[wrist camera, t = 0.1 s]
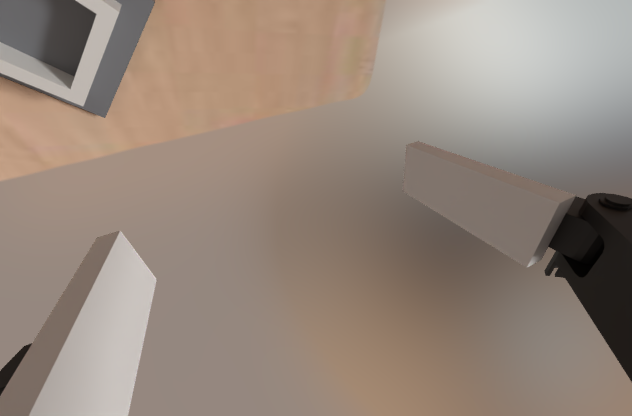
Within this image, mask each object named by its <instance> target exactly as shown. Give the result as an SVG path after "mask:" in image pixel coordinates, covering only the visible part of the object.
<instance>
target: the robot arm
mask: <svg viewBox="0 0 632 416" xmlns="http://www.w3.org/2000/svg"><path fill="white" fill-rule="evenodd" d="M403 192H405V193H407V194H408V195H410V196H411V197H413V198H415V199H416V200H418V201H419V202H421V203H423V204H424V205H426V206H428V207H429V208H431V209H432V210H434V211H436V212H437V213H439V214H441V215H442V216H444V217H445V218H447V219H449V220H450V221H452V222H454V223H455V224H457V225H459V226H460V227H462V228H463V229H465V230H466V231H468V232H470V233H471V234H473V235H475V236H476V237H478V238H479V239H481V240H483V241H484V242H486V243H488V244H489V245H491V246H493V247H494V248H496V249H497V250H499V251H501V252H502V253H504V254H505V255H507V256H509V257H510V258H512V259H514V260H515V261H517V262H519V263H520V264H522V265H523V266H525V267H529V266H531V265H533V264H534V263H536V262H538V261H540V260H541V259H542V258H543V256H544V253H545V252H546V250H547V248H548V247H550V248H552V249H554V250H556V252H555V254H554V255H553V257H552V259H551V261H550V262H549V264H548V266H547V268H546V269H545V274H546V276H550V274H551V273H552V271H553V269H554V268H558V270H557V271H556V273H555V277H563V278H566V280H567V281H568V283H569V285H570V286H571V287H572V289H573V291H574V292H575V294H576V295H577V297H578V299H579V300H580V302H581V303H582V305H583V306H584V308H585V310H586V311H587V313H588V314H589V316H590V317H591V319H592V320H593V322H594V324H595V325H596V327H597V328H598V330H599V331H600V333H601V334H602V336H603V338H604V339H605V341H606V342H607V344H608V345H609V347H610V349H611V350H612V352H613V353H614V355H615V356H616V358H617V360H618V361H619V363H620V364H621V366H622V367H623V369H624V370H625V372H626V374H627V375H628V377H629V378H630V380H631V381H632V199H631V198H628V197H624V196H620V195H615V194H606V193H596V194H591V195H588V196H587V198H586V199H582V198H579V197H576V195H574V194H571V193H567V192H565V191H562V190H559V189H556V188H553V187H550V186H547V185H544V184H542V183H539V182H536V181H533V180H530V179H527V178H524V177H521V176H518V175H515V174H512V173H509V172H506V171H504V170H501V169H498V168H495V167H492V166H489V165H486V164H483V163H480V162H477V161H474V160H471V159H469V158H465V157H462V156H460V155H457V154H454V153H451V152H448V151H445V150H442V149H439V148H436V147H433V146H430V145H427V144H425V143H422V142H419V141H418V142H414V143H411V144H408V145H406V155H405V168H404V181H403ZM156 280H157V279H156V278H155V277H154V275H153V274H152V272H151V271H150V270H149V268H148V267H147V266H146V265H145V263H144V262H143V260H142V259H141V258H140V256H139V255H138V254H137V252H136V251H135V250H134V248H133V247H132V246H131V244H130V243H129V242H128V240H127V239H126V237H125V236H124V235H123V233H122V232H121V231H118V232H114V233H111V234H108V235H104V236H101V237H98V238H96V240H95V242H94V244H93V245H92V247H91V248H90V250H89V252H88V253H87V255H86V256H85V258H84V260H83V261H82V263H81V265H80V267H79V268H78V270H77V271H76V273H75V274H74V276H73V278H72V279H71V281H70V283H69V284H68V286H67V288H66V289H65V291H64V292H63V294H62V296H61V297H60V299H59V301H58V302H57V304H56V306H55V307H54V309H53V310H52V312H51V314H50V315H49V317H48V319H47V320H46V322H45V324H44V325H43V327H42V329H41V330H40V332H39V333H38V335H37V337H36V338H35V340H34V342H33V343H31V344H29V345H26V346H24V347H23V348H22V349H21V350H20V351H19V352H18V353H17V354H16V355H15V356H14V357H13V358H12V359H11V360H10V361H9V362H8V363H7V364H6V365H5V366H4V368H2V370H1V371H0V416H128V413H129V408H130V403H131V399H132V394H133V389H134V384H135V380H136V375H137V370H138V365H139V360H140V356H141V351H142V346H143V342H144V337H145V332H146V327H147V322H148V317H149V313H150V308H151V303H152V299H153V294H154V289H155V284H156Z"/></svg>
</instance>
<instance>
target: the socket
mask: <svg viewBox="0 0 632 416" xmlns="http://www.w3.org/2000/svg"><path fill="white" fill-rule="evenodd" d="M154 3H155V0H0V76H1V77H4V78H6V79H9V80H11V81H14V82H16V83H19V84H21V85H24V86H26V87H29V88H31V89H34V90H36V91H39V92H41V93H44V94H46V95H49V96H51V97H54V98H56V99H59V100H61V101H64V102H66V103H69V104H71V105H74V106H76V107H79V108H81V109H84V110H86V111H89V112H91V113H94V114H96V115H99V116H101V117H104V118H105V117H106V115H107V112H108V110H109V108H110V105H111V103H112V101H113V98H114V96H115V94H116V91H117V89H118V87H119V84H120V82H121V80H122V77H123V75H124V73H125V71H126V68H127V66H128V64H129V61H130V59H131V57H132V54H133V52H134V50H135V47H136V45H137V43H138V40H139V38H140V36H141V33H142V31H143V29H144V27H145V24H146V22H147V20H148V17H149V15H150V13H151V10H152V8H153V6H154Z"/></svg>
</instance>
